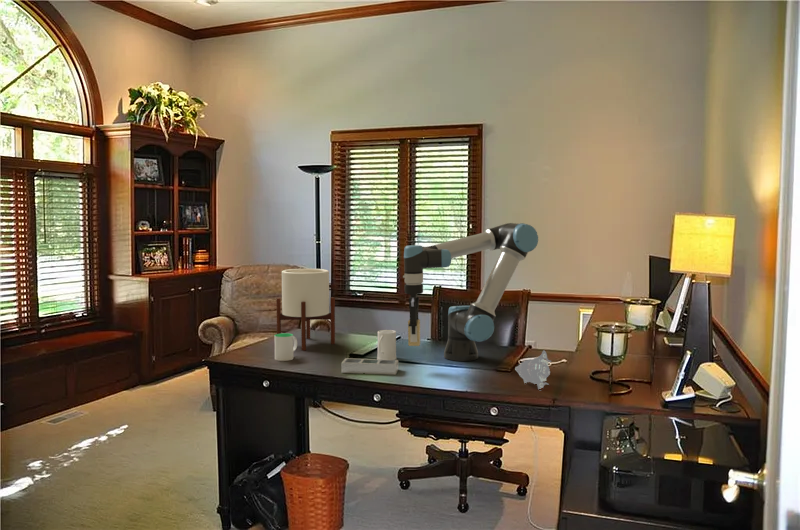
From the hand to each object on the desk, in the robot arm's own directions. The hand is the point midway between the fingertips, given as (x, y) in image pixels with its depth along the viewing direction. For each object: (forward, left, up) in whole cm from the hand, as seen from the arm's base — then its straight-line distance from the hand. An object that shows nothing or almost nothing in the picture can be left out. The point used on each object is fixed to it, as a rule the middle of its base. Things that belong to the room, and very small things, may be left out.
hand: (414, 340), depth 256 cm
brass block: (0, 0, -2) cm, 2 cm away
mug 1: (+57, -13, -12) cm, 60 cm away
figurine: (-46, +18, -12) cm, 51 cm away
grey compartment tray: (+17, +5, -12) cm, 22 cm away
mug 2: (+14, -16, -12) cm, 25 cm away
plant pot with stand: (+56, -41, -12) cm, 71 cm away
